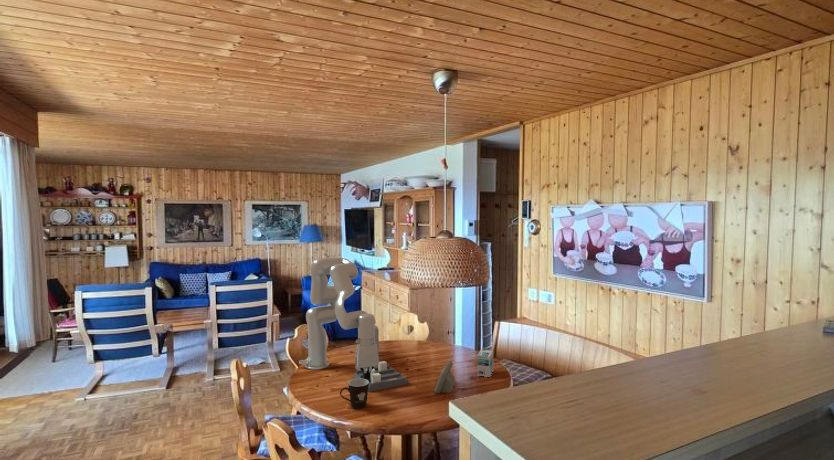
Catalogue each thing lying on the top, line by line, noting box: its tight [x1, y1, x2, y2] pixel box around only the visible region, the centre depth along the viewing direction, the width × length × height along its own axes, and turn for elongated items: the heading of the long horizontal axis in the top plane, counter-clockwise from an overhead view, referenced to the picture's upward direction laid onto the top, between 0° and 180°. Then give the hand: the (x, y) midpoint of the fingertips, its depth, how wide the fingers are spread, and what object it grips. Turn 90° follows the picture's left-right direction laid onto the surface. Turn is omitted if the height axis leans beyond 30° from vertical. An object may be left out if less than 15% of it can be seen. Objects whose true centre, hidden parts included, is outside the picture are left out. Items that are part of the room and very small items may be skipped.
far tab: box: [377, 360, 388, 371], centre depth 213 cm, size 4×3×4 cm
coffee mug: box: [339, 378, 369, 410], centre depth 177 cm, size 12×9×10 cm
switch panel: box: [353, 364, 409, 393], centre depth 205 cm, size 20×20×3 cm
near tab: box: [371, 373, 381, 383], centre depth 197 cm, size 4×3×4 cm
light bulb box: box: [476, 349, 494, 378], centre depth 214 cm, size 11×7×11 cm, turn 161°
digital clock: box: [434, 360, 455, 394], centre depth 196 cm, size 16×9×11 cm, turn 152°
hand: (366, 380), depth 194 cm, fingers closed
